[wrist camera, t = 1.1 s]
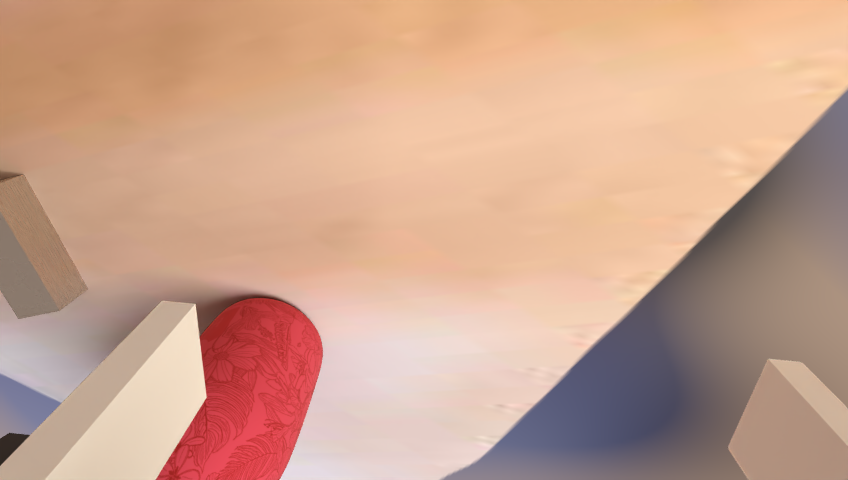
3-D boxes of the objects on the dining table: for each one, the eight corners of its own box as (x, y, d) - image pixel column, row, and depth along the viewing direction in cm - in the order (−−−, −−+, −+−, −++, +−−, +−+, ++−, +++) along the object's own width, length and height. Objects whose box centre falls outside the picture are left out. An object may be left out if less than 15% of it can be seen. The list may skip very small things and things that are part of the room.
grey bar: (-15, 183, 39) (-59, 199, 35) (26, 173, 38) (-14, 188, 35) (51, 295, 43) (18, 318, 39) (89, 287, 42) (59, 310, 39)
